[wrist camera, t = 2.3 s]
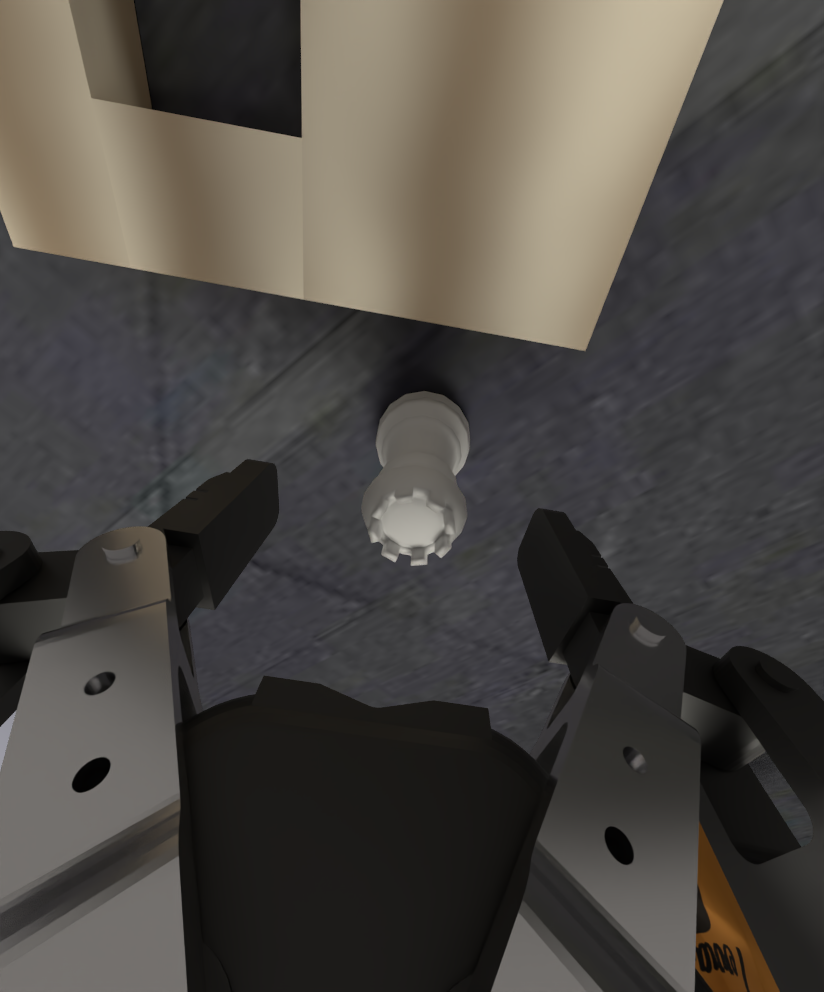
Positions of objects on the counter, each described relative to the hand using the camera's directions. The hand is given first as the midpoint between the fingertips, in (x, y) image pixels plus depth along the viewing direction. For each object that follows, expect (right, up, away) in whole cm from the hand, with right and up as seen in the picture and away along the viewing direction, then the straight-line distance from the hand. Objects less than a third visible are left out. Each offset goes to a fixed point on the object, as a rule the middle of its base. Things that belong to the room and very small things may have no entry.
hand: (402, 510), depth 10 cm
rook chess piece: (+1, +4, +6) cm, 7 cm away
